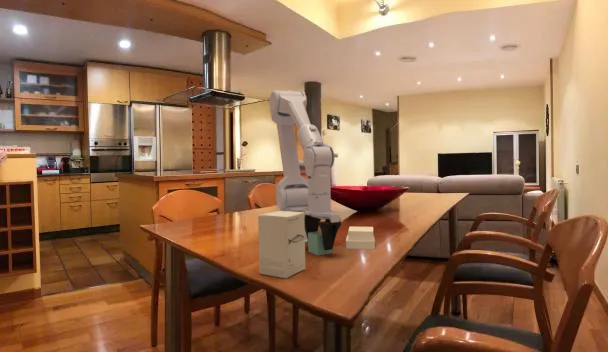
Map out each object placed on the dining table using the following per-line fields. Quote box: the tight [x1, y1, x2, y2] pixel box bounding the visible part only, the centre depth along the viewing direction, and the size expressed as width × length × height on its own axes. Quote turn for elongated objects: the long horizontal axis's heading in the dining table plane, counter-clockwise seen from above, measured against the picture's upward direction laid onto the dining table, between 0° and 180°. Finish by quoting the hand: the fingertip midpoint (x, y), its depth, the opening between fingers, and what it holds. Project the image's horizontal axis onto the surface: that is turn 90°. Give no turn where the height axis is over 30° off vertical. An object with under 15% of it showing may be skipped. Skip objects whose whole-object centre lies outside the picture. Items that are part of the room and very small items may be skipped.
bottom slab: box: [345, 234, 376, 250], centre depth 102 cm, size 8×8×2 cm
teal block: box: [307, 230, 334, 256], centre depth 96 cm, size 4×4×5 cm
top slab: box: [347, 226, 374, 241], centre depth 102 cm, size 6×6×2 cm
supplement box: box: [257, 210, 306, 280], centre depth 80 cm, size 7×7×13 cm
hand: (320, 246), depth 96 cm, fingers open, 7 cm apart
